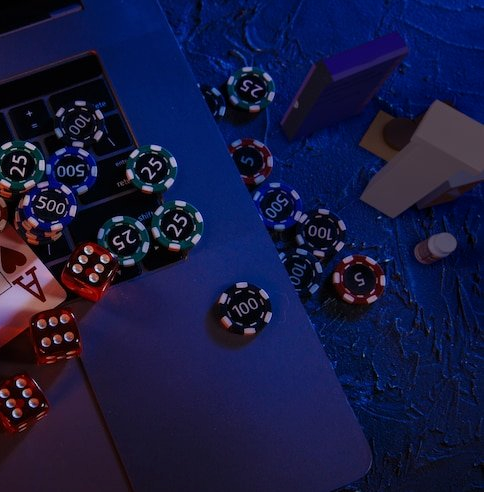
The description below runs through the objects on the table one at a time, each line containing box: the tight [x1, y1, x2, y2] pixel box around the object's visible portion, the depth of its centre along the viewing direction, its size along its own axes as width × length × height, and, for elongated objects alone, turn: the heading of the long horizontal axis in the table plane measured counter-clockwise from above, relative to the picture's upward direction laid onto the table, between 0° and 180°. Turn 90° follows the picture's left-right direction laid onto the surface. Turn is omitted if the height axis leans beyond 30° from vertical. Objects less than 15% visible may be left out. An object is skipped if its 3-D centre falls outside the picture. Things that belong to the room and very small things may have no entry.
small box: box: [415, 170, 484, 210], centre depth 125 cm, size 8×6×13 cm
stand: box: [359, 99, 484, 219], centre depth 117 cm, size 12×8×30 cm, turn 56°
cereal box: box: [279, 29, 411, 142], centre depth 125 cm, size 17×5×24 cm, turn 113°
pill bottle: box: [414, 232, 458, 265], centre depth 124 cm, size 5×5×8 cm
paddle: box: [383, 98, 458, 151], centre depth 134 cm, size 8×18×2 cm, turn 121°
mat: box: [358, 109, 400, 163], centre depth 134 cm, size 12×10×1 cm
